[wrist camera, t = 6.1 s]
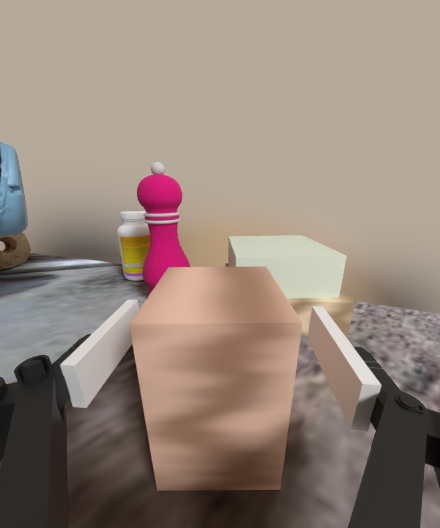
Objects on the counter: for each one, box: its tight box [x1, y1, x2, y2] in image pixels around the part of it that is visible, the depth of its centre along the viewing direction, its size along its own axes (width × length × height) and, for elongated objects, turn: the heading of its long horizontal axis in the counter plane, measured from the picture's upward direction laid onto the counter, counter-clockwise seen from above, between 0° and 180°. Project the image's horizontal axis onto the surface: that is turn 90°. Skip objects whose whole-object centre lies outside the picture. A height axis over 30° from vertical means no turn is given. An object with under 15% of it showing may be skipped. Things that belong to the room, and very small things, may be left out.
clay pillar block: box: [129, 266, 302, 491], centre depth 14 cm, size 7×7×11 cm
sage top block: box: [228, 235, 346, 299], centre depth 29 cm, size 12×12×5 cm
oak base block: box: [225, 264, 355, 336], centre depth 31 cm, size 14×14×5 cm
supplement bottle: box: [117, 211, 150, 281], centre depth 42 cm, size 7×7×13 cm
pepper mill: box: [137, 162, 190, 295], centre depth 31 cm, size 7×7×20 cm
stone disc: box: [0, 232, 30, 270], centre depth 48 cm, size 10×4×10 cm, turn 167°
